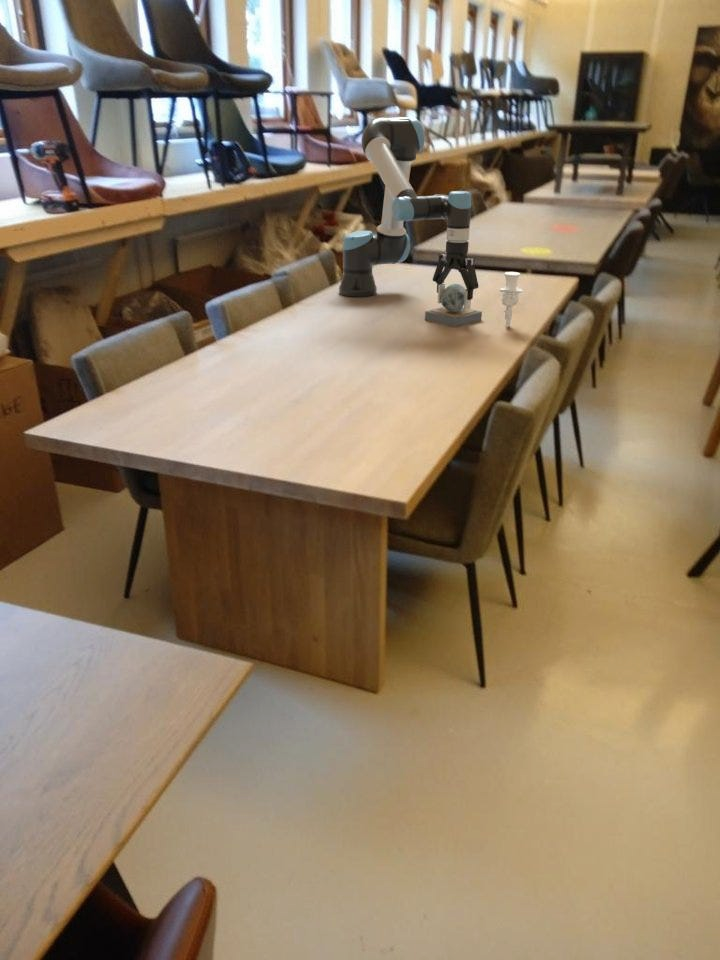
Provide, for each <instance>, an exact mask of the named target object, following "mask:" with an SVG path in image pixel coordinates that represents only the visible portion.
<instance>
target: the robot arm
mask: <svg viewBox="0 0 720 960" xmlns="http://www.w3.org/2000/svg"><path fill="white" fill-rule="evenodd" d="M425 143H426V142H425V131H424V128H423V125H422V123H421V121H419V120H418V119H417V118H415V117H408V116H406V117H405V116H403V117H378V118H375V119H373V120H372V121H370V122H369V123H368V124H367V125H366V126H365V127H364V129H363V133H362V134H361V147H362V148H361V149H362V152H363V154H364V156H365V158H367V160H368V161H370V162H371V163H372V164H373V166H374V167H375V169H376V171H377V173H378V175H379V177H380V179H381V180H382V182H383V184H384V186H385V187H384V197H383V205H382V215H381V221H380V222H381V223H380V224H379V225H377V227H376V231H375V232H376V233H375V234H374V233H373V231H371V230H357V231H353V232H349V233H347V234H345V235H344V237H343V239H342V241H343V242H342V264H343V265H342V269H343V270H342V273H343V274H342V277H341V281H340V285H339V286H338V293H339V295H341V296H345V297H346V296H347V297H353V298H362V297H370V296H374V295H377V285H376V282H375V279H374V275H373V266H377V265H390V264H391V265H395V264H399V263H402V262H404V261H406V259H407V258H408V256H409V254H410V250H411V242H410V241H411V239H410V237H409V234H408V233H407V229H406V228H405V227H404V222H413V221H422V220H423V221H424V220H446V223H447V224H446V240H447V241H446V242H445V252H446V253H442V254H441V253H440V254H439V255H438V262H437V265H436V267H435V271H434V274H433V277H432V282H435V283H436V293H437V304H441V296H442V293H443V292H444V290H445V289H446V283H445V280H446V279H447V277H448V276H449V274H450V272H451V271H452V270H455V271H458V272H459V273H460V275H461V278H462V281H463V284H464V285H465V289H466V290H465V297H464V305H463V308H464V309H465V310H466V309H471V308H472V307H471V305H472V300H473V298H474V290H476V289H479V286H480V285H479V283H478V277H477V271H476V268H475V258H468V252H469V246H470V245H469V240H470V230H471V229H470V225H471V213H472V194H471V192H469V191H467V190H466V191H464V190H454V191H453V190H452V191H450V192H449V193H448V195H447V194H444V193H441V194H440V193H439V194H438V193H435V194H434V195H420V196H419V195H417V193H416V191H415V190H414V188H413V187H412V185H411V183H410V173H411V169H412V168H411V167H412V163H414V162H415V161H416V159H417V154H419V153H421V152H422V151H423V149H424V147H425Z"/></svg>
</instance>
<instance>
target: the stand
mask: <svg viewBox="0 0 720 960" xmlns="http://www.w3.org/2000/svg"><path fill="white" fill-rule="evenodd" d="M482 314H483V311H480V310H476V309H473V308H472V309H471V308H470V309H466V310H465V309H464V306H463V307H462V309H461V310H460V311H458V312H451V311H449V310H447V309H446V308H444V307H443V306H441V307H438V308H433V309H429V310H426V311H424V320H425V321H428V322H432V323H436V324H439V325H444V326H448V327H449V326H450V327H453V328H458V327H461V326H466V325H468V324H472V323H476V322H479V321H482Z"/></svg>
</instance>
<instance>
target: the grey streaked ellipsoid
mask: <svg viewBox="0 0 720 960" xmlns="http://www.w3.org/2000/svg"><path fill="white" fill-rule="evenodd" d="M466 289H467V288H466V287H464V286H463V285H461V284H459V283H452V284H450V285H448V286H447V287H445V290H444V292H443V293H442V296H441V303H440V304H441V306H442V307H444V308H446V309H447V310H449V311H451V312H458V311H460V310H461V309H462V307H463V308H464V297H465V290H466Z"/></svg>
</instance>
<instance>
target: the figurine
mask: <svg viewBox="0 0 720 960" xmlns="http://www.w3.org/2000/svg"><path fill="white" fill-rule="evenodd" d="M520 275H521V272H517V271H505V272H504V276H505V284H504V285H505V286H502V287H500V288H499V289H498V291H499V292H500V293H502V297H501V299H500V301H501V304H502V305H503V306H505V307H506V308H505V310H504V311H503V312H504V319H505V325H504V327H506V328H509V327H510V325H511V321H512V317H513V307H515V306H516V305H517V304H518V303H519V301H520V300H519V295H518V294H521V293H523V289H522V288H521V287H518V281H519V277H520Z"/></svg>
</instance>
